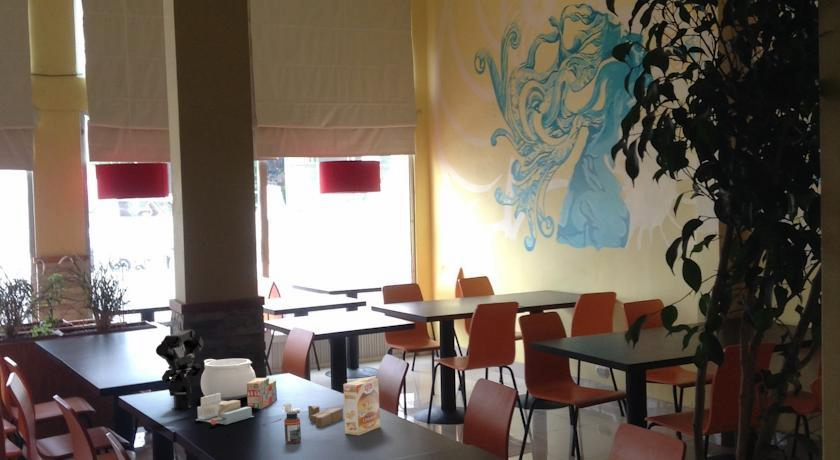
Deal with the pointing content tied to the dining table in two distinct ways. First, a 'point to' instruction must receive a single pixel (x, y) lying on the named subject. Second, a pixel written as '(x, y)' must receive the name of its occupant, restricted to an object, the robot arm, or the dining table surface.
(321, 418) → the wooden block set
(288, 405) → the teacup and saucer
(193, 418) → the dining table surface
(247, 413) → the pale blue base plate
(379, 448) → the dining table surface
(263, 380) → the stack of blocks
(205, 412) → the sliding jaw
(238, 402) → the beech block
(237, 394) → the pot
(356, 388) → the coffeecake box
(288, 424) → the supplement bottle
